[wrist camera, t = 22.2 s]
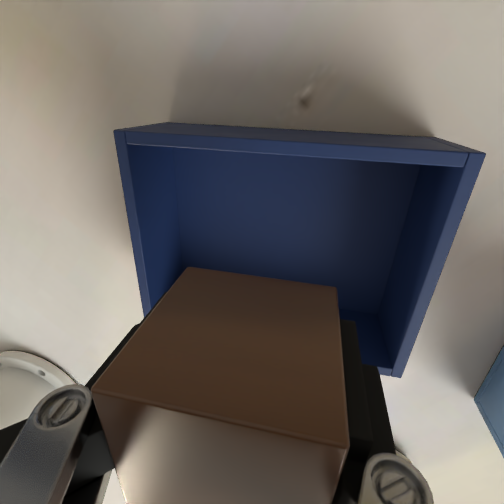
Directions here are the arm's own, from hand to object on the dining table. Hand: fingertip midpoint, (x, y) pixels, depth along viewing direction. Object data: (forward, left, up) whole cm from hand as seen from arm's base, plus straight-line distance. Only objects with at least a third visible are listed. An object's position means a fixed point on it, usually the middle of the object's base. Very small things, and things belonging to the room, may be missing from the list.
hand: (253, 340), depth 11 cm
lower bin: (0, 0, -11) cm, 11 cm away
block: (0, 0, 0) cm, 0 cm away
